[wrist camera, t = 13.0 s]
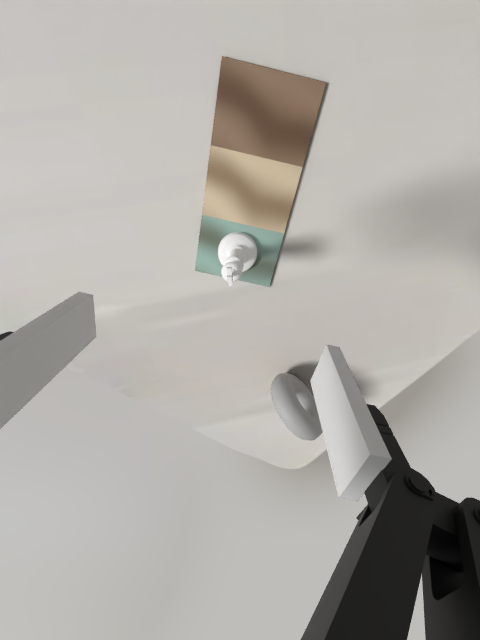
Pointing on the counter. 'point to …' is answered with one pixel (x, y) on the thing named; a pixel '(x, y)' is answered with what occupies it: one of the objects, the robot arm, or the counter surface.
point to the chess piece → (236, 255)
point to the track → (255, 161)
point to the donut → (296, 406)
